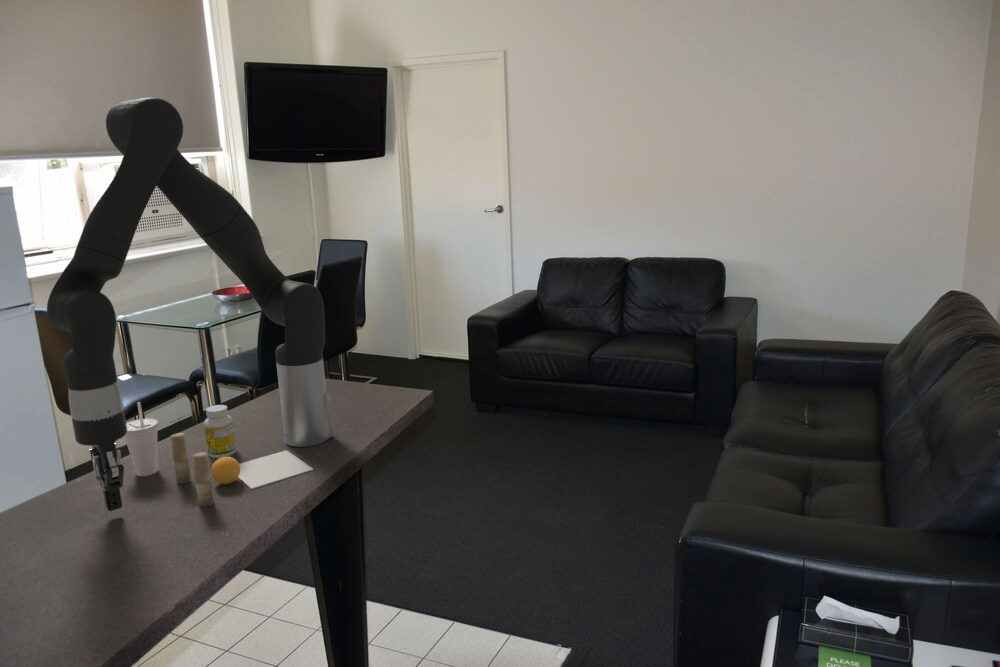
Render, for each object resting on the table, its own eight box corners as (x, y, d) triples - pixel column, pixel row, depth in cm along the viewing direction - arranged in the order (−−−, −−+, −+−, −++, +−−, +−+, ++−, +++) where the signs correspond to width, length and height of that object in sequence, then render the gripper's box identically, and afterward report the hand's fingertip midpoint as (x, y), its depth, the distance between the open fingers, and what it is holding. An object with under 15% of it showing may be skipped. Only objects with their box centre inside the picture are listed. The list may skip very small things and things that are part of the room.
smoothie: (151, 480, 139) (140, 409, 135) (120, 478, 140) (109, 407, 136) (172, 466, 145) (162, 397, 141) (143, 463, 146) (132, 395, 142)
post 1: (188, 477, 140) (182, 432, 137) (192, 481, 138) (186, 435, 136) (175, 480, 138) (168, 435, 136) (179, 485, 136) (172, 439, 134)
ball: (202, 475, 136) (228, 481, 139) (211, 485, 132) (237, 490, 136) (214, 450, 137) (239, 456, 140) (223, 458, 133) (248, 465, 136)
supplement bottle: (237, 455, 149) (231, 410, 146) (208, 460, 147) (202, 414, 144) (235, 446, 153) (230, 401, 151) (207, 450, 152) (201, 406, 149)
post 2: (210, 499, 131) (204, 451, 128) (215, 503, 129) (209, 455, 127) (196, 503, 129) (189, 455, 127) (201, 508, 127) (194, 459, 125)
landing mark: (286, 451, 150) (286, 450, 150) (313, 469, 141) (313, 468, 141) (227, 468, 143) (226, 467, 143) (251, 489, 134) (251, 488, 134)
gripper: (133, 415, 118) (149, 514, 122) (112, 395, 128) (127, 488, 132) (80, 427, 114) (99, 530, 118) (63, 405, 123) (80, 501, 128)
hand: (114, 507), depth 125 cm, fingers closed
